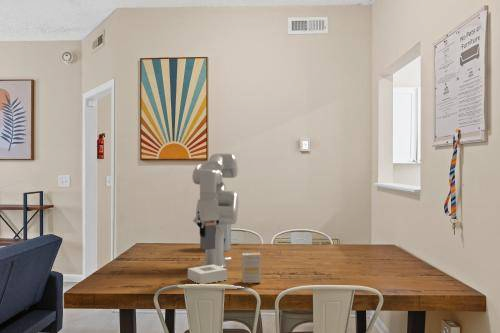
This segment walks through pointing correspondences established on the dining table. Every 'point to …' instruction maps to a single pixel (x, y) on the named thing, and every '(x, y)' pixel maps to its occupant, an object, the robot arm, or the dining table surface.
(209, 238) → the grey cylinder
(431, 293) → the dining table surface
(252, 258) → the supplement box
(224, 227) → the hard drive box
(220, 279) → the socket block
